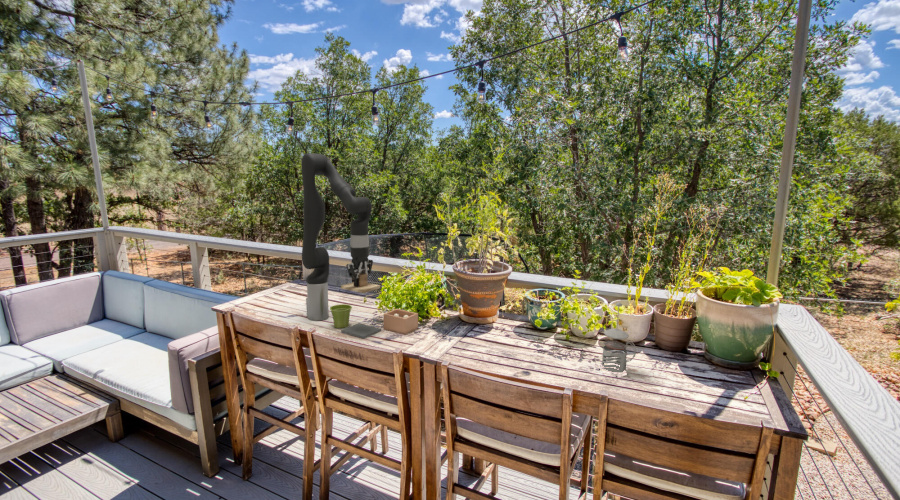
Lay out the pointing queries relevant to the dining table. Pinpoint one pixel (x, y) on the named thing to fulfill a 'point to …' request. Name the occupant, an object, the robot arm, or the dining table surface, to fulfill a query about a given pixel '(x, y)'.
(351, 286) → the lid
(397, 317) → the box
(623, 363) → the french press
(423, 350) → the dining table surface
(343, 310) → the plant pot
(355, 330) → the mat
